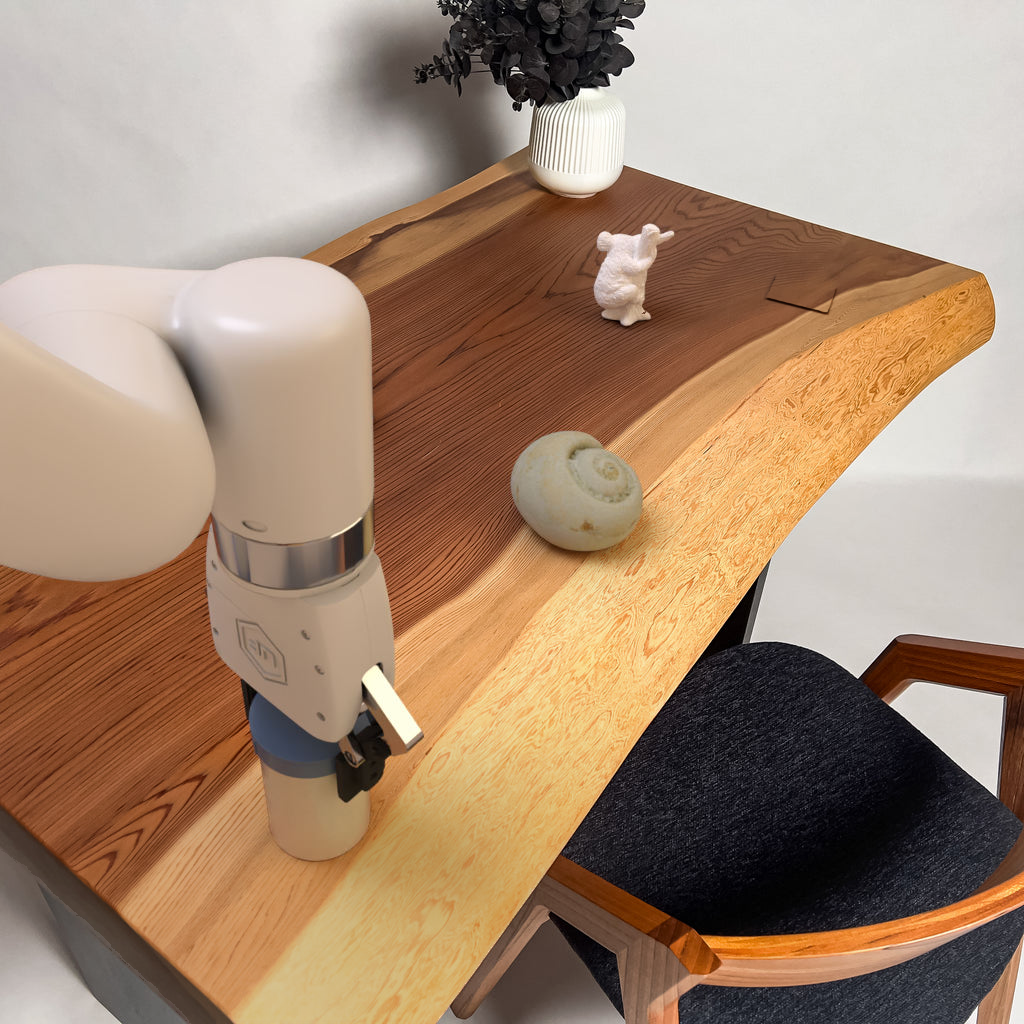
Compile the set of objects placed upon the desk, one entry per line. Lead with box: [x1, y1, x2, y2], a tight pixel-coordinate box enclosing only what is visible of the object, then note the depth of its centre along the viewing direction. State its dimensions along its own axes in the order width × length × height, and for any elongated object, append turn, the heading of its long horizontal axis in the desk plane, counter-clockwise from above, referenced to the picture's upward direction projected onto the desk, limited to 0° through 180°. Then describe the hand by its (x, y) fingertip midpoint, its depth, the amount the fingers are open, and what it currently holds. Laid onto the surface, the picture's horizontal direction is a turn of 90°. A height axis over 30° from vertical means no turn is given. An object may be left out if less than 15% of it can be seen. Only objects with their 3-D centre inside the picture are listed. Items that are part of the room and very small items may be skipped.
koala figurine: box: [593, 223, 675, 327], centre depth 112 cm, size 8×7×12 cm
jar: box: [259, 758, 371, 862], centre depth 59 cm, size 6×6×10 cm
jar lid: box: [248, 692, 370, 779], centre depth 55 cm, size 7×7×2 cm
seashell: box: [510, 430, 644, 552], centre depth 84 cm, size 13×8×10 cm
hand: (314, 744), depth 57 cm, fingers open, 7 cm apart
